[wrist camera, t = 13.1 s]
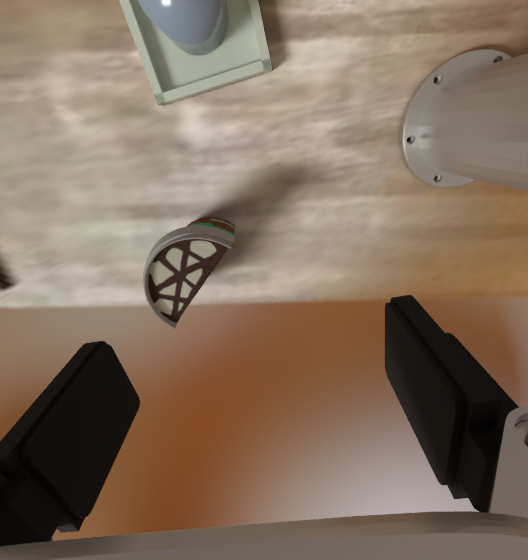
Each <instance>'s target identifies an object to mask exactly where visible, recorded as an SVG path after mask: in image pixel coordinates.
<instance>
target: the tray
mask: <svg viewBox="0 0 528 560" xmlns="http://www.w3.org/2000/svg"><path fill="white" fill-rule="evenodd" d="M120 3H121V6H122V9H123V11H124V14H125V17H126V19H127V22H128V25H129V28H130V30H131V33H132V36H133V38H134V41H135V44H136V46H137V49H138V52H139V55H140V57H141V60H142V63H143V65H144V68H145V71H146V74H147V76H148V79H149V82H150V84H151V87H152V90H153V92H154V95H155V98H156V101H157V103H158V105H161V106H165V105H168V104H172V103H175V102H178V101H181V100H184V99H187V98H190V97H193V96H196V95H200V94H203V93H206V92H209V91H212V90H215V89H218V88H221V87H225V86H228V85H231V84H234V83H237V82H240V81H243V80H246V79H249V78H253V77H256V76H259V75H262V74H265V73H268V72H271V71H272V65H271V60H270V56H269V51H268V46H267V41H266V36H265V32H264V27H263V22H262V17H261V12H260V7H259V3H258V0H226V4H227V9H228V26H227V31H226V34H225V36H224V39H223V41H222V42H221V44H220V45H219V46H218V47H217V48H216V49H215V50H214V51H212V52H211V53H209V54H206V55H202V56H195V55H191V54H188V53H186V52H184V51H182V50H181V49H180V48H178V47H177V46H176V45H175V44H174V43H173V42H172V41H171V40H170V39H169V38H168V37H167V36H166V35H165V34H164V33H163V32H162V31H161V30H160V29H159V28H158V27H157V26H156V25H155V24H154V23H153V22H152V21H151V20H150V19H149V17H148V16H147V15H146V14H145V12H144V11H143V9H142V8H141V6H140V4H139V2H138V0H120Z"/></svg>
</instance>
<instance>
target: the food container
mask: <svg viewBox="0 0 528 560" xmlns="http://www.w3.org/2000/svg"><path fill="white" fill-rule="evenodd" d="M234 228H235V225H233V224H232V223H230V222H228V221H226V220H222V219H218V218H202V219H199V220H197V221H194V222H192V223H190V224H189V225H188V226H187V227H183V228H180V229H177V230H175V231H172V232H170V233H168V234H167V235H165V236H164V237H162V238H161V239H160V240H159V241H158V242H157V243H156V244H155V246H154V247H153V249H152V250H151V252H150V254H149V256H148V259H147V262H146V265H145V269H144V276H143V283H144V290H145V295H146V298H147V301H148V303H149V305H150V307H151V308H152V310H153V311H154V312H155V314H156V315H157V316H158V317H159V318H160V319H161V320H162V321H163V322H164V323H166V324H167V325H168V326H170V327H172V328H173V329H175V327H176V325H177V323H178V321H179V319H180V317H181V315H182V314H183V312H184V311H185V309H186V308H187V306H188V305H189V304H190V302H191V301H192V299H193V298H194V296H195V295H196V294H197V292H198V291H199V290H200V288H201V287H202V285H203V284H204V282H205V281H206V279H207V278H208V276H209V275H210V273H211V272H212V271H213V269H214V268H215V266H216V265H217V263H218V262H219V260H220V259H221V258H222V256H223V255H224V253H225V252H226V250H227V249H228V248H230V249H231V247H232V245H233V243H234V240H235V238H236V236H234V235H233V234H234Z"/></svg>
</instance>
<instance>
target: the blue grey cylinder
mask: <svg viewBox="0 0 528 560" xmlns="http://www.w3.org/2000/svg"><path fill="white" fill-rule="evenodd" d="M138 2H139V4H140V6H141V8H142V9H143V11H144V12H145V14H146V15H147V16H148V17H149V19H150V20H151V21H152V22H153V23H154V24H155V25H156V26H157V27H158V28H159V29H160V30H161V31H162V32H163V33H164V34H165V35H166V36H167V37H168V38H169V39H170V40H171V41H172V42H173V43H174V44H175V45H176V46H177V47H178V48H180V49H181V50H182V51H184V52H186V53H188V54H191V55H195V56H202V55H206V54H209V53H211V52H212V51H214V50H215V49H216V48H217V47H218V46H219V45H220V44H221V42H222V41H223V39H224V36H225V34H226V31H227V26H228V9H227V4H226V0H138Z"/></svg>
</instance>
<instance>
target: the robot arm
mask: <svg viewBox="0 0 528 560" xmlns="http://www.w3.org/2000/svg"><path fill="white" fill-rule="evenodd" d="M493 62H494V63H493ZM434 78H435V79H436V81H435V83H434ZM408 137H409V141H408V142H407V138H408ZM400 147H401V152H402V156H403V159H404V161H405V164H406V166H407V167H408V168H409V170H410V171H411V173H412V174H414V175H415V176H416V177H417V178H418V179H419V180H421V181H423V182H425V183H427V184H430V185H433V186H438V187H446V188H448V187H458V186H462V185H466V184H469V183H472V182H474V181H476V180H479V181H484V182H488V183H492V184H497V185H501V186H506V187H510V188H514V189H519V190H523V191H527V192H528V53H526V54H523V55H519V56H516V57H511V56H509V55H508V54H506V53H504V52H501V51H497V50H494V49H479V50H474V51H468V52H466V53H463V54H460V55H457V56H455V57H453V58H451V59H449V60H448V61H446V62H444V63H442V64H441V65H440V66H438V67H437V68H436V69H435V70H433V71H432V72H431V73H430V74H429V75H428V76H427V77H426V78H425V79H424V80H423V81H422V82H421V84H420V85H419V87H418V88H417V89H416V91H415V92H414V94H413V95H412V97H411V99H410V101H409V103H408V105H407V107H406V110H405V113H404V116H403V119H402V124H401V130H400ZM435 176H436V177H435ZM434 177H435V179H434ZM385 370H386V374H387V377H388V379H389V381H390V383H391V385H392V387H393V389H394V391H395V393H396V395H397V398H398V400H399V402H400V404H401V406H402V408H403V410H404V412H405V414H406V416H407V418H408V420H409V422H410V424H411V426H412V428H413V430H414V433H415V435H416V437H417V438H418V441H419V443H420V445H421V447H422V449H423V451H424V453H425V455H426V457H427V459H428V461H429V464H430V465H431V468H432V470H433V472H434V474H435V476H436V478H437V479H438V481H439V483H440V484H441V485H447V486H448V488H449V490H450V491H451V493H452V495H453V498H454V499H461V498H469V500H470V502H471V503H472V505H473V507H474V508H475V509H476V510H478V511H479V512H421V513H403V514H387V515H386V514H385V515H368V516H352V517H340V518H326V519H313V520H300V521H287V522H275V523H261V524H249V525H237V526H223V527H212V528H200V529H187V530H175V531H163V532H151V533H139V534H127V535H116V536H106V537H105V536H104V537H93V538H82V539H70V540H59V541H53V538H52V536H53V534H54V532H55V530H56V528H57V529H58V530H59V531H60V532H73V531H79V529H80V527H81V525H82V523H83V521H84V519H85V517H86V516H88V515H89V514H90V512H91V511H92V509H93V507H94V504H95V502H96V500H97V498H98V496H99V494H100V491H101V489H102V487H103V485H104V483H105V480H106V478H107V476H108V474H109V472H110V470H111V467H112V465H113V463H114V461H115V459H116V457H117V455H118V452H119V450H120V448H121V445H122V444H123V441H124V439H125V437H126V435H127V433H128V431H129V429H130V426H131V424H132V422H133V420H134V418H135V416H136V413H137V411H138V409H139V405H140V400H139V397H138V395H137V393H136V391H135V389H134V387H133V385H132V384H131V382H130V380H129V378H128V376H127V375H126V372H125V371H124V369H123V367H122V365H121V363H120V361H119V360H118V358H117V356H116V354H115V352H114V350H113V348H112V347H111V346H110V345H108V344H107V343H106V342H104V341H98V342H91V343H86V344H84V345H83V346H82V347H81V348H80V349H79V350H78V351H77V353H76V354H75V355H74V356H73V357H72V359H71V360H70V361H69V362H68V363H67V364H66V365H65V367H64V368H63V369H62V370H61V371H60V372H59V374H58V375H57V376H56V377H55V378H54V379H53V381H52V382H51V383H50V384H49V385H48V387H47V388H46V389H45V390H44V391H43V392H42V394H41V395H40V396H39V397H38V398H37V399H36V400H35V402H34V403H33V404H32V405H31V406H30V407H29V409H28V410H27V411H26V412H25V413H24V414H23V416H22V417H21V418H20V419H19V420H18V422H17V423H16V424H15V425H14V426H13V427H12V428H11V430H10V431H9V432H8V433H7V434H6V436H5V437H4V438H3V439H2V440H1V441H0V560H528V407H527V406H526V407H521V408H519V407H518V406H517V405H516V403H515V402H514V401H513V400H512V399H511V398H510V397H509V396H508V395H507V394H506V392H505V391H504V390H503V389H502V388H501V387H500V386H499V385H498V384H497V383H496V381H495V380H494V379H493V378H492V377H491V376H490V375H489V374H488V373H487V371H486V370H485V369H484V368H483V367H482V366H481V365H480V364H479V363H478V362H477V360H476V359H475V358H474V357H473V356H472V355H471V354H470V353H469V352H468V351H467V349H466V348H465V347H464V346H463V345H462V344H461V343H460V342H459V341H458V339H457V338H455V336H453V335H452V334H450V333H444V331H443V330H442V329H441V328H440V327H439V326H438V325H437V323H436V322H435V321H434V320H433V319H432V318H431V317H430V316H429V314H428V313H427V312H426V311H425V310H424V309H423V307H422V306H421V305H420V304H419V303H418V302H417V300H416V299H415V298H414V297H413V296H412V295H406V296H400V297H393V298H391V301H390V303H386V305H385Z"/></svg>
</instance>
